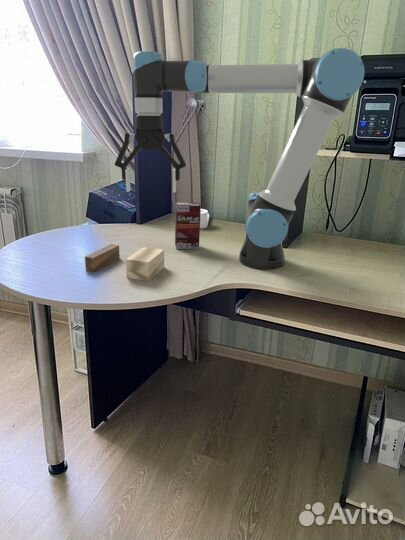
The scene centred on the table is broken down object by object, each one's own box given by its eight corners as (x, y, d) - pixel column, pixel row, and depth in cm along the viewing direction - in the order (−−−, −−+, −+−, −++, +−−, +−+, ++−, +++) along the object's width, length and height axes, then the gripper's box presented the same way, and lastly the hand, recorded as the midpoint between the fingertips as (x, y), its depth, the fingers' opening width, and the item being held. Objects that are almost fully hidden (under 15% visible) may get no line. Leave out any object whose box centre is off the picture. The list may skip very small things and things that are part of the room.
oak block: (164, 267, 132) (164, 249, 130) (148, 281, 121) (148, 262, 119) (143, 264, 134) (143, 247, 132) (126, 278, 123) (126, 259, 121)
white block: (206, 229, 175) (207, 213, 172) (185, 228, 175) (186, 213, 173) (209, 217, 193) (209, 203, 191) (190, 217, 194) (190, 202, 191)
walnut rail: (119, 258, 139) (119, 245, 137) (94, 272, 126) (93, 258, 125) (111, 256, 140) (111, 243, 138) (85, 270, 128) (84, 256, 126)
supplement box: (175, 249, 149) (175, 205, 143) (174, 245, 153) (175, 202, 147) (199, 249, 150) (201, 205, 144) (198, 244, 154) (199, 202, 149)
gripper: (194, 115, 119) (194, 189, 127) (107, 113, 119) (112, 188, 127) (193, 115, 112) (193, 194, 120) (100, 114, 112) (106, 193, 120)
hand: (151, 191), depth 124 cm, fingers open, 13 cm apart
